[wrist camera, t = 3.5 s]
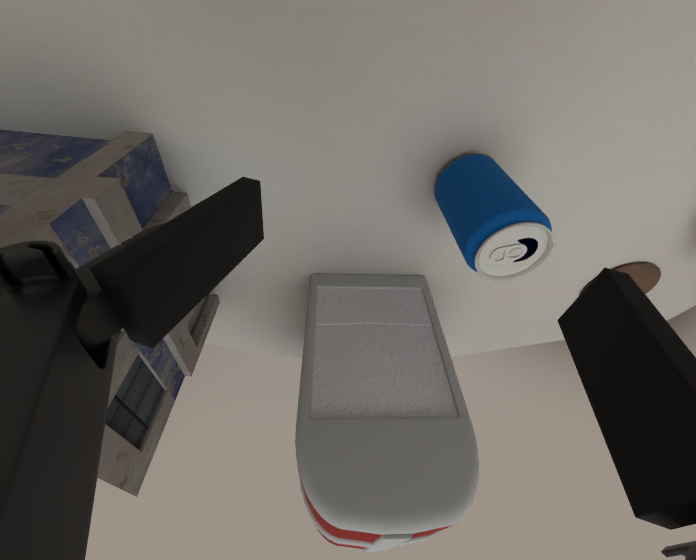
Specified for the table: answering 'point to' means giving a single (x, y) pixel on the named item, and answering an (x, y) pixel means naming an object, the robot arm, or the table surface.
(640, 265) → the coaster
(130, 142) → the building
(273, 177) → the table surface
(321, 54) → the table surface
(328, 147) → the table surface
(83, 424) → the robot arm
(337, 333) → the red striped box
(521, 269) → the beverage can
